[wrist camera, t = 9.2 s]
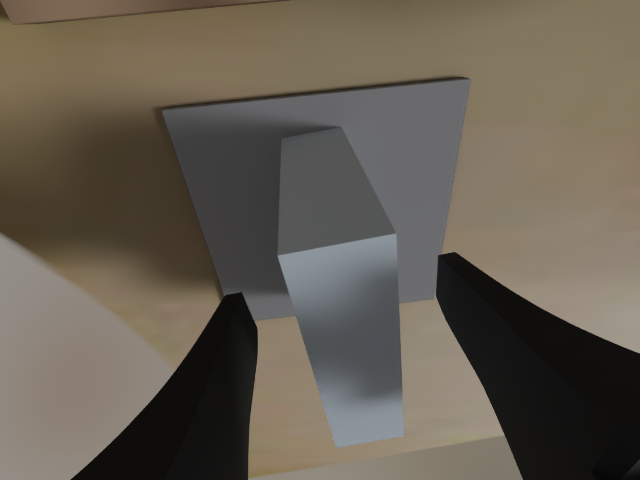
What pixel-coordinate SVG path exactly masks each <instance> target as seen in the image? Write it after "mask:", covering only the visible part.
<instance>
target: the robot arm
mask: <svg viewBox="0 0 640 480" xmlns="http://www.w3.org/2000/svg"><path fill="white" fill-rule="evenodd" d="M436 297H437V300H438V302H439V305H440V307H441V310H442V312H443V314H444V317H445V319H446V321H447V323H448V325H449V327H450V328H451V330H452V332H453V334H454V335H455V337H456V339H457V341H458V342H459V344H460V346H461V348H462V349H463V351H464V353H465V355H466V356H467V358H468V360H469V362H470V363H471V365H472V367H473V369H474V370H475V372H476V374H477V376H478V378H479V379H480V381H481V383H482V385H483V387H484V389H485V391H486V394H487V396H488V398H489V400H490V402H491V405H492V407H493V409H494V411H495V414H496V416H497V418H498V420H499V423H500V425H501V427H502V430H503V432H504V434H505V437H506V439H507V441H508V444H509V446H510V449H511V451H512V453H513V456H514V458H515V461H516V463H517V466H518V468H519V470H520V473H521V476H522V478H523V480H640V354H639V353H637V352H634V351H632V350H629V349H627V348H624V347H622V346H619V345H617V344H614V343H612V342H610V341H607V340H605V339H603V338H601V337H598V336H596V335H594V334H592V333H589V332H587V331H585V330H583V329H581V328H578V327H576V326H574V325H572V324H570V323H568V322H566V321H564V320H562V319H560V318H558V317H556V316H555V315H553V314H551V313H549V312H547V311H545V310H543V309H541V308H540V307H538V306H536V305H534V304H533V303H531V302H529V301H528V300H526V299H524V298H522V297H521V296H519V295H517V294H516V293H514V292H513V291H511V290H509V289H508V288H506V287H505V286H503V285H502V284H500V283H499V282H497V281H496V280H494V279H493V278H491V277H490V276H488V275H487V274H485V273H484V272H483V271H481V270H480V269H478V268H477V267H475V266H474V265H473V264H471V263H470V262H468V261H467V260H466V259H464V258H463V257H461V256H460V255H459V254H457V253H456V252H453V253H447V254H442V255H438V266H437V286H436ZM257 355H258V332H257V326H256V324H255V322H254V319H253V317H252V315H251V312H250V310H249V308H248V305H247V303H246V301H245V298H244V296H243V294H242V292H239V293H234V294H228V295H225V296H224V298H223V300H222V301H221V303H220V304H219V306H218V308H217V309H216V311H215V313H214V314H213V316H212V317H211V319H210V321H209V322H208V324H207V326H206V327H205V329H204V330H203V332H202V333H201V335H200V336H199V338H198V339H197V341H196V343H195V344H194V346H193V347H192V349H191V350H190V351H189V353H188V354H187V356H186V357H185V358H184V360H183V361H182V363H181V364H180V365H179V367H178V368H177V370H176V371H175V372H174V373H173V375H172V376H171V377H170V379H169V380H168V381H167V382H166V384H165V385H164V386H163V388H162V389H161V390H160V391H159V392H158V394H157V395H156V396H155V397H154V398H153V399H152V400H151V402H150V403H149V404H148V405H147V406H146V407H145V408H144V409H143V410H142V411H141V412H140V413H139V415H138V416H137V417H136V418H135V419H134V420H133V421H132V422H131V423H130V424H129V425H128V426H127V427H126V428H125V429H124V431H122V432H121V434H120V435H119V436H118V437H116V439H114V440H113V441H112V442H111V443H110V444H109V445H108V446H107V447H106V448H105V449H104V450H103V451H102V452H101V453H100V454H99V455H98V456H97V457H95V458H94V459H93V460H92V461H91V462H90V463H89V464H88V465H87V466H86V467H85V468H83V469H82V470H81V471H80V472H79V473H78V474H77V475H75V476H74V477H73V478H72V479H71V480H248V448H249V424H250V413H251V405H252V397H253V389H254V381H255V373H256V364H257Z"/></svg>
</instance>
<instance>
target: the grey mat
mask: <svg viewBox="0 0 640 480" xmlns="http://www.w3.org/2000/svg"><path fill="white" fill-rule="evenodd" d="M470 81H471V79H469V78H456V79H446V80H436V81H427V82H417V83H407V84H397V85H387V86H378V87H368V88H358V89H348V90H338V91H328V92H319V93H309V94H299V95H289V96H279V97H269V98H260V99H250V100H240V101H230V102H220V103H210V104H201V105H191V106H181V107H171V108H164V109H163V110H161V111H162V114H163V117H164V120H165V123H166V126H167V129H168V132H169V135H170V138H171V141H172V144H173V146H174V149H175V152H176V155H177V158H178V161H179V164H180V167H181V170H182V173H183V176H184V179H185V182H186V185H187V188H188V191H189V194H190V197H191V199H192V202H193V205H194V208H195V211H196V214H197V217H198V220H199V223H200V226H201V229H202V232H203V235H204V238H205V241H206V244H207V247H208V250H209V253H210V255H211V258H212V261H213V264H214V267H215V270H216V273H217V276H218V279H219V282H220V285H221V288H222V291H223V294H224V296H225V295H228V294H234V293H239V292H242V294H243V296H244V298H245V301H246V303H247V305H248V308H249V310H250V312H251V315H252V317H253V319H254V321H257V320H266V319H274V318H282V317H290V316H296V314H295V311H294V308H293V305H292V301H291V298H290V295H289V292H288V288H287V285H286V282H285V278H284V275H283V272H282V269H281V265H280V262H279V259H278V227H279V197H280V167H281V138H287V137H292V136H297V135H302V134H307V133H312V132H317V131H322V130H327V129H333V128H338V127H342V129H343V131H344V133H345V135H346V137H347V139H348V141H349V143H350V144H351V146H352V148H353V150H354V152H355V154H356V156H357V158H358V160H359V162H360V164H361V166H362V168H363V170H364V172H365V174H366V176H367V177H368V179H369V181H370V183H371V185H372V187H373V189H374V191H375V193H376V195H377V197H378V199H379V201H380V203H381V205H382V207H383V209H384V210H385V212H386V214H387V216H388V218H389V220H390V222H391V224H392V226H393V228H394V230H395V232H396V238H397V264H398V291H399V303H406V302H415V301H423V300H431V299H434V294H435V288H436V283H437V266H438V255H441V253H442V247H443V241H444V235H445V229H446V223H447V217H448V211H449V205H450V199H451V193H452V188H453V182H454V176H455V170H456V164H457V158H458V152H459V146H460V140H461V134H462V128H463V122H464V116H465V110H466V104H467V99H468V93H469V87H470Z"/></svg>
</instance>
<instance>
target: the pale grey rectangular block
mask: <svg viewBox="0 0 640 480" xmlns="http://www.w3.org/2000/svg"><path fill="white" fill-rule="evenodd" d="M278 259H279V262H280V265H281V269H282V272H283V275H284V278H285V282H286V285H287V288H288V292H289V295H290V298H291V301H292V305H293V308H294V311H295V314H296V318H297V321H298V324H299V327H300V331H301V334H302V337H303V341H304V344H305V347H306V350H307V354H308V357H309V360H310V363H311V367H312V370H313V373H314V376H315V380H316V383H317V386H318V389H319V393H320V396H321V399H322V403H323V406H324V409H325V412H326V416H327V419H328V422H329V425H330V429H331V432H332V435H333V438H334V442H335V445H336V448H338V447H343V446H349V445H355V444H361V443H366V442H372V441H378V440H384V439H389V438H395V437H401V436H404V423H403V397H402V370H401V344H400V317H399V291H398V264H397V238H396V232H395V230H394V228H393V226H392V224H391V222H390V220H389V218H388V216H387V214H386V212H385V210H384V209H383V207H382V205H381V203H380V201H379V199H378V197H377V195H376V193H375V191H374V189H373V187H372V185H371V183H370V181H369V179H368V177H367V176H366V174H365V172H364V170H363V168H362V166H361V164H360V162H359V160H358V158H357V156H356V154H355V152H354V150H353V148H352V146H351V144H350V143H349V141H348V139H347V137H346V135H345V133H344V131H343V129H342V127H338V128H333V129H327V130H322V131H317V132H312V133H307V134H302V135H297V136H292V137H287V138H281V167H280V197H279V227H278Z"/></svg>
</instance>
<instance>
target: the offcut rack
mask: <svg viewBox="0 0 640 480" xmlns="http://www.w3.org/2000/svg"><path fill="white" fill-rule="evenodd" d="M277 1H288V0H0V2H1V4H2V5H3V7H4V9H5V11H6V13H7V15H8V17H9V19H10V21H11V23H12V25H13V24H42V23H52V22H63V21H74V20H85V19H95V18H106V17H117V16H127V15H138V14H149V13H159V12H170V11H181V10H191V9H202V8H213V7H224V6H234V5H245V4H256V3H266V2H277Z"/></svg>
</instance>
